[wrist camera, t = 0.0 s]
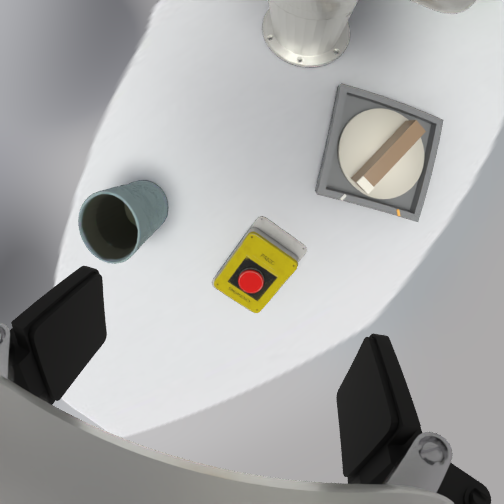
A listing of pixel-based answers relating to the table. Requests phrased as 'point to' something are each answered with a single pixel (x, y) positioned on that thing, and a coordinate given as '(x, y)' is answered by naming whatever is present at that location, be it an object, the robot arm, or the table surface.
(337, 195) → the dial housing
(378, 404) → the robot arm
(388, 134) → the dial
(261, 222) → the emergency button
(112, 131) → the table surface
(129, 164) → the table surface
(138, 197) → the teal cup
